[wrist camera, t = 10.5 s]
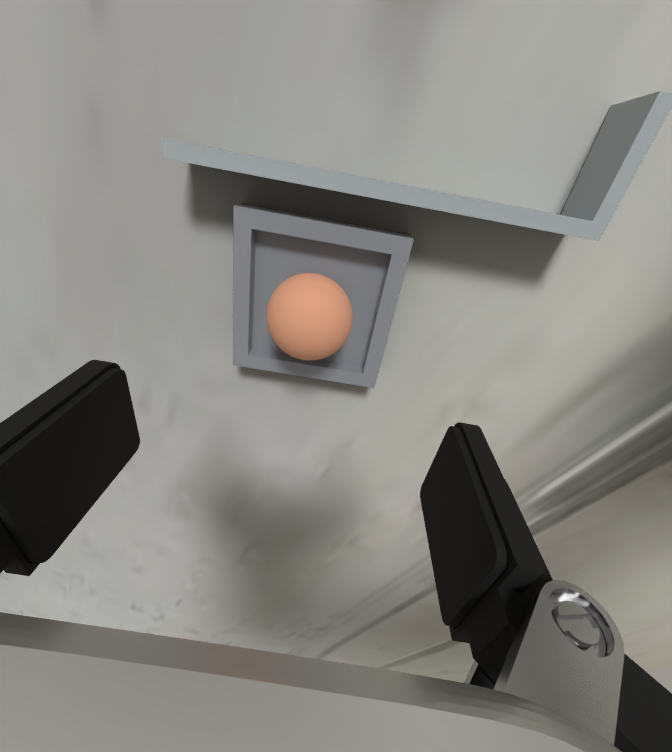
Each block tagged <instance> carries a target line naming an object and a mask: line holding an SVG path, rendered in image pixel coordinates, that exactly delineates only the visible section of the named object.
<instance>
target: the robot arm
mask: <svg viewBox="0 0 672 752" xmlns="http://www.w3.org/2000/svg"><path fill="white" fill-rule="evenodd" d="M139 444H140V437H139V433H138V428H137V424H136V419H135V414H134V410H133V405H132V401H131V396H130V391H129V387H128V382H127V378H126V374H125V372H124V370H121V369H120V366H119V365H118V364H116V363H111V362H105V361H99V360H91V361H89V362H88V363H86V364H85V365H83V366H82V367H81V368H79V369H78V370H76V371H75V372H73V373H72V374H70V375H69V376H68V377H66V378H65V379H63V380H62V381H60V382H59V383H57V384H56V385H55V386H53V387H52V388H50V389H49V390H47V391H46V392H45V393H43V394H42V395H40V396H39V397H37V398H36V399H34V400H33V401H32V402H30V403H29V404H27V405H26V406H24V407H23V408H21V409H20V410H19V411H17V412H16V413H14V414H13V415H11V416H10V417H9V418H7V419H6V420H4V421H3V422H1V423H0V573H1V572H2V571H3V570H4V571H5V572H6V573H12V574H19V575H25V576H30V575H31V574H32V572H33V571H34V570H35V569H36V567H37V566H38V565H39V564H40V563H43V562H45V561H47V560H48V559H49V558H50V557H51V556H52V555H53V554H54V553H55V552H56V550H57V549H58V548H59V547H60V545H61V544H62V543H63V542H64V540H65V539H66V538H67V537H68V535H69V534H70V533H71V532H72V531H73V529H74V528H75V527H76V526H77V524H78V523H79V522H80V521H81V519H82V518H83V517H84V516H85V514H86V513H87V512H88V511H89V509H90V508H91V507H92V506H93V505H94V503H95V502H96V501H97V500H98V498H99V497H100V496H101V495H102V493H103V492H104V491H105V490H106V488H107V487H108V486H109V485H110V483H111V482H112V481H113V480H114V479H115V477H116V476H117V475H118V474H119V472H120V471H121V470H122V469H123V467H124V466H125V465H126V464H127V462H128V461H129V460H130V459H131V457H132V456H133V455H134V454H135V453H136V451H137V449H138V447H139ZM420 498H421V504H422V510H423V515H424V521H425V527H426V532H427V538H428V543H429V549H430V554H431V560H432V566H433V571H434V577H435V582H436V588H437V593H438V599H439V605H440V610H441V615H442V619H443V622H444V623H445V625H448V626H449V627H450V632H451V637H452V640H453V641H459V642H466V643H470V647H471V651H472V656H473V659H474V662H473V664H472V667H471V669H470V671H469V673H468V675H467V677H466V680H465V682H464V683H460V682H454V681H449V680H443V679H437V678H431V677H426V676H420V675H414V674H409V673H403V672H397V671H391V670H385V669H378V668H372V667H365V666H359V665H352V664H346V663H339V662H333V661H326V660H320V659H313V658H307V657H300V656H294V655H287V654H281V653H274V652H268V651H261V650H254V649H247V648H241V647H234V646H227V645H221V644H214V643H207V642H201V641H194V640H187V639H180V638H174V637H167V636H160V635H153V634H146V633H140V632H133V631H126V630H119V629H113V628H106V627H99V626H92V625H85V624H78V623H71V622H64V621H57V620H50V619H43V618H36V617H29V616H22V615H15V614H8V613H1V612H0V752H672V694H671V693H670V692H669V691H668V690H667V689H666V688H664V687H663V686H662V685H661V684H660V683H658V682H657V681H656V680H655V679H654V678H653V677H651V676H650V675H649V674H648V673H647V672H646V671H644V670H643V669H642V668H641V667H640V666H638V665H637V664H636V663H635V662H634V661H633V660H631V659H630V658H629V657H628V656H627V655H626V654H624V644H623V640H622V638H621V635H620V632H619V630H618V628H617V626H616V625H615V623H614V621H613V620H612V618H611V617H610V615H609V614H608V613H607V612H606V610H605V609H604V608H603V607H602V606H601V605H600V604H599V602H597V601H596V600H595V599H594V598H593V597H592V596H590V595H589V594H588V593H587V592H585V591H584V590H582V589H580V588H579V587H577V586H576V585H573V584H571V583H568V582H565V581H558V580H552V577H551V575H550V573H549V571H548V569H547V567H546V565H545V563H544V560H543V558H542V556H541V554H540V552H539V550H538V548H537V545H536V543H535V541H534V539H533V537H532V535H531V533H530V530H529V528H528V526H527V524H526V522H525V520H524V518H523V515H522V513H521V511H520V509H519V507H518V505H517V503H516V501H515V498H514V496H513V494H512V492H511V490H510V488H509V486H508V484H507V482H506V480H505V479H504V478H503V475H502V473H501V471H500V469H499V467H498V465H497V462H496V460H495V458H494V456H493V454H492V452H491V450H490V447H489V445H488V443H487V441H486V439H485V437H484V434H483V432H482V430H481V428H480V427H479V426H477V425H471V424H465V423H460V422H459V423H457V424H455V426H454V427H453V426H450V427H449V428H448V430H447V432H446V434H445V436H444V438H443V441H442V443H441V445H440V447H439V449H438V451H437V454H436V456H435V458H434V460H433V462H432V464H431V467H430V469H429V471H428V473H427V475H426V478H425V480H424V482H423V484H422V487H421V491H420Z"/></svg>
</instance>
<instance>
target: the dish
mask: <svg viewBox="0 0 672 752" xmlns="http://www.w3.org/2000/svg"><path fill="white" fill-rule="evenodd" d="M413 241H414V238H413V237H411V236H410V235H409V234H404V233H399V232H393V231H388V230H383V229H377V228H372V227H367V226H361V225H356V224H350V223H345V222H340V221H334V220H329V219H324V218H318V217H313V216H307V215H302V214H297V213H291V212H286V211H281V210H275V209H270V208H264V207H259V206H254V205H248V204H238V205H233V365H235V366H242V367H248V368H254V369H260V370H266V371H272V372H278V373H284V374H291V375H297V376H303V377H309V378H315V379H321V380H327V381H333V382H340V383H346V384H352V385H358V386H364V387H370V388H374V387H375V383H376V379H377V375H378V372H379V368H380V364H381V360H382V357H383V353H384V349H385V346H386V342H387V338H388V334H389V331H390V327H391V323H392V319H393V316H394V312H395V308H396V304H397V301H398V297H399V293H400V290H401V286H402V282H403V278H404V275H405V271H406V267H407V263H408V260H409V256H410V252H411V249H412V245H413ZM303 273H316V274H320V275H324V276H326V277H328V278H330V279H332V280H333V281H335V282H336V283H337V284H338V285H339V286H340V287H341V288H342V289H343V290H344V291H345V293H346V295H347V296H348V298H349V300H350V303H351V307H352V313H353V322H352V328H351V331H350V334H349V336H348V338H347V340H346V341H345V343H344V344H343V345H342V347H341V348H340V349H339V350H338V351H336V352H335V353H333V354H332V355H330V356H328V357H326V358H323V359H319V360H302V359H298V358H295V357H292V356H290V355H288V354H287V353H285V352H284V351H283V350H282V349H281V348H280V347H279V346H278V345H277V344H276V343H275V341H274V340H273V338H272V337H271V334H270V332H269V329H268V325H267V307H268V303H269V300H270V298H271V296H272V294H273V292H274V291H275V289H276V288H277V287H278V286H279V285H280V284H281V283H282V282H284V281H285V280H287V279H288V278H290V277H292V276H295V275H298V274H303Z"/></svg>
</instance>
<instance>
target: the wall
mask: <svg viewBox="0 0 672 752" xmlns="http://www.w3.org/2000/svg"><path fill="white" fill-rule="evenodd" d="M671 107H672V94H670V93H666V92H661V91H659V92H656V93H653V94H649V95H646V96H642V97H639V98H636V99H632V100H629V101H626V102H622V103H619V104H615V105H612V106H611V107H610V110H609V112H608V114H607V116H606V118H605V120H604V122H603V125H602V127H601V129H600V131H599V133H598V135H597V137H596V140H595V142H594V144H593V146H592V148H591V150H590V152H589V155H588V157H587V159H586V161H585V163H584V165H583V167H582V170H581V172H580V174H579V176H578V178H577V180H576V182H575V185H574V187H573V189H572V191H571V193H570V195H569V197H568V200H567V202H566V204H565V206H564V208H563V210H562V212H561V215H558V214H553V213H548V212H543V211H538V210H532V209H527V208H522V207H517V206H512V205H507V204H501V203H496V202H491V201H486V200H481V199H475V198H470V197H465V196H460V195H455V194H450V193H444V192H439V191H434V190H429V189H424V188H418V187H413V186H408V185H403V184H398V183H393V182H387V181H382V180H377V179H372V178H367V177H361V176H356V175H351V174H346V173H341V172H336V171H330V170H325V169H320V168H315V167H310V166H304V165H299V164H294V163H289V162H284V161H279V160H273V159H268V158H263V157H258V156H253V155H247V154H242V153H237V152H232V151H227V150H222V149H216V148H211V147H206V146H201V145H196V144H190V143H185V142H180V141H175V140H170V139H165V138H161V141H162V152H163V158H165V159H170V160H175V161H181V162H186V163H191V164H196V165H202V166H207V167H212V168H217V169H223V170H228V171H233V172H238V173H244V174H249V175H254V176H259V177H265V178H270V179H275V180H280V181H286V182H291V183H296V184H301V185H307V186H312V187H317V188H322V189H328V190H333V191H338V192H344V193H349V194H354V195H359V196H365V197H370V198H375V199H380V200H386V201H391V202H396V203H401V204H407V205H412V206H417V207H422V208H428V209H433V210H438V211H443V212H449V213H454V214H459V215H464V216H470V217H475V218H480V219H485V220H491V221H496V222H501V223H506V224H512V225H517V226H522V227H527V228H533V229H538V230H543V231H549V232H554V233H559V234H564V235H570V236H575V237H580V238H585V239H591V240H596V241H599V240H600V238H601V236H602V235H603V233H604V231H605V229H606V227H607V225H608V223H609V222H610V220H611V218H612V216H613V214H614V212H615V211H616V209H617V207H618V205H619V203H620V201H621V199H622V198H623V196H624V194H625V192H626V190H627V188H628V187H629V185H630V183H631V181H632V179H633V177H634V175H635V174H636V172H637V170H638V168H639V166H640V164H641V163H642V161H643V159H644V157H645V155H646V153H647V151H648V150H649V148H650V146H651V144H652V142H653V140H654V139H655V137H656V135H657V133H658V131H659V129H660V127H661V126H662V124H663V122H664V120H665V118H666V116H667V115H668V113H669V111H670V109H671Z"/></svg>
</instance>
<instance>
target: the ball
mask: <svg viewBox="0 0 672 752" xmlns="http://www.w3.org/2000/svg"><path fill="white" fill-rule="evenodd" d="M352 322H353V313H352V307H351V303H350V300H349V298H348V296H347V295H346V293H345V291H344V290H343V289H342V288H341V287H340V286H339V285H338V284H337V283H336V282H335V281H333V280H332V279H330V278H328V277H326V276H324V275H320V274H316V273H303V274H298V275H295V276H292V277H290V278H288V279H287V280H285V281H284V282H282V283H281V284H280V285H279V286H278V287H277V288H276V289H275V291H274V292H273V294H272V296H271V298H270V300H269V303H268V307H267V325H268V329H269V332H270V334H271V337H272V338H273V340H274V341H275V343H276V344H277V345H278V346H279V347H280V348H281V349H282V350H283V351H284V352H285V353H287V354H288V355H290V356H292V357H295V358H298V359H302V360H319V359H323V358H326V357H328V356H330V355H332V354H333V353H335V352H336V351H338V350H339V349H340V348H341V347H342V345H343V344H344V343H345V341H346V340H347V338H348V336H349V334H350V331H351V328H352Z"/></svg>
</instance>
